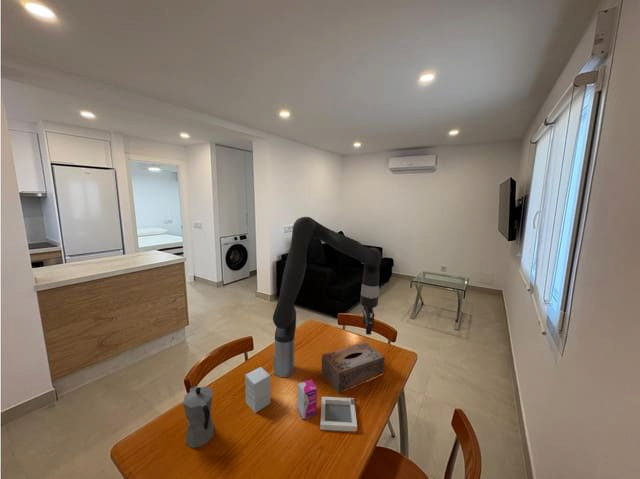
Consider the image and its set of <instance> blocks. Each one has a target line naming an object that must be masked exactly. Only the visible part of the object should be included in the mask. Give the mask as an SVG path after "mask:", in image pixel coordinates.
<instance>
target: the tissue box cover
mask: <svg viewBox="0 0 640 479" xmlns="http://www.w3.org/2000/svg"><path fill="white" fill-rule="evenodd" d="M384 370H385V355H384V354H382V353H381V352H379V351H378V350H377V349H375V347H374V346H371V345H370V344H369V343H368V342H367V341H363V342H359V343H356V344H352V345H349V346H346V347H343V348H339V349H336V350H333V351H330V352H327V353H324V354H321V375H322V376H323V378H324V379H325V380H326V381H327V383H328V384H329V383H330V384H329V385H330V386H331V387H332V389H333V388H334V389H335V390H334V389H333V390H334V391H335V392H336V394H337V393H339V394H341V393H343V392H342V391H344V390H346V389H349V388H351V387H353V386H355V385H358V384H360V383H362V382H365V381H367V380H369V379H371V378H373V377H376V376H378V375H380V374H382V373H385V372H384ZM351 389H352V388H351ZM349 390H350V389H349ZM346 391H347V390H346ZM340 392H341V393H340ZM344 392H345V391H344Z"/></svg>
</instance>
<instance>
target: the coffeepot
mask: <svg viewBox="0 0 640 479" xmlns="http://www.w3.org/2000/svg"><path fill="white" fill-rule="evenodd" d="M213 391H214V390H213V389H212V388H210V387H207V386H196V385H194V386H191V387H190V388H189V392H188V393H186V394H185V395H184V398H183V401H182V402H183V403H182V404H183V405H182V406H183V409H184V414H185V417H186V420H187V421H188V423H187V430H186V438H185V444H186V445H188V447H190V448H194V449H196V448H199V447H202V446H205V445H206V444H208V443H209V442H210V441H211V440H212V438H213V436H214V435H215V434H214V433H215V426H214V425H215V424H214V421H213V418H212V413H211V412H212V401H213V394H214V393H213Z"/></svg>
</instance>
